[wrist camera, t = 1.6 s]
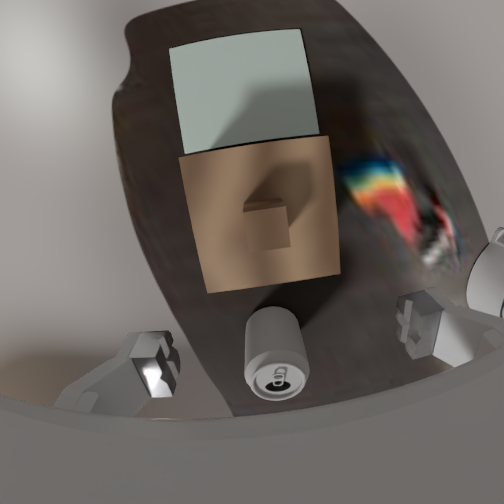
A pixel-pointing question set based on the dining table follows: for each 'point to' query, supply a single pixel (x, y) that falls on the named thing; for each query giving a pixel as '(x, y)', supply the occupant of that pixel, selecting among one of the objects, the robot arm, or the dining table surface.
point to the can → (275, 354)
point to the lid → (263, 213)
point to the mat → (243, 89)
